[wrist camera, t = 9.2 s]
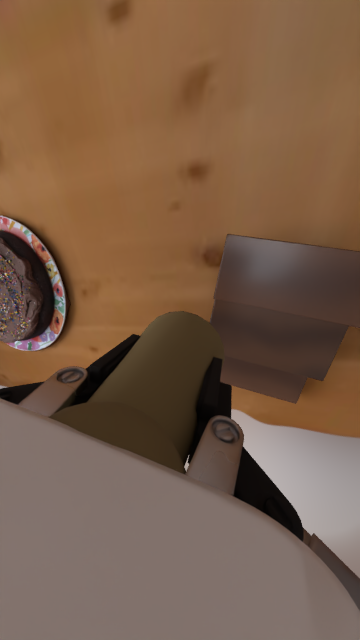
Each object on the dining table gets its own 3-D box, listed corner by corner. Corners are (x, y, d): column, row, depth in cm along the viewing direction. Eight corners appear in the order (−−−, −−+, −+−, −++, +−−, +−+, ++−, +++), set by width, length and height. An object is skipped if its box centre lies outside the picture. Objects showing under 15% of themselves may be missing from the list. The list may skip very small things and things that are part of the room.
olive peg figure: (229, 316, 12) (210, 625, 2) (219, 396, 14) (181, 776, 4) (141, 306, 13) (-150, 448, 3) (142, 380, 15) (-41, 620, 5)
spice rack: (290, 391, 32) (314, 444, 22) (202, 366, 35) (190, 404, 25) (345, 260, 25) (411, 258, 16) (229, 243, 28) (227, 233, 19)
